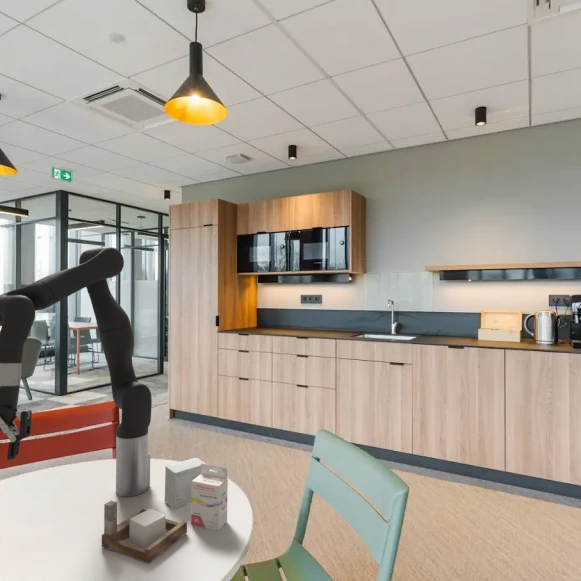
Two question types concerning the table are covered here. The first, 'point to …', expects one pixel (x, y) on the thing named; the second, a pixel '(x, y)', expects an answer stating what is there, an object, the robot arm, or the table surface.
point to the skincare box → (181, 481)
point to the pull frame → (121, 531)
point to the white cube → (146, 528)
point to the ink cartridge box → (209, 498)
